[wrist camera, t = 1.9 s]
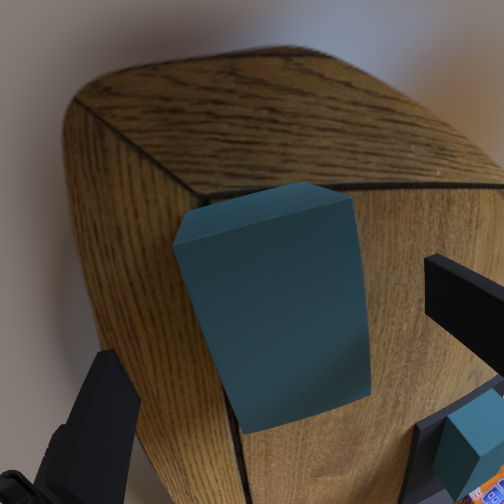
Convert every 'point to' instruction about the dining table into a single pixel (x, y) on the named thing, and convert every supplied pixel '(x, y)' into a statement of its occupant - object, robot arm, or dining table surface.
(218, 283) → the teal rectangular block
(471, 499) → the game box
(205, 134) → the dining table surface
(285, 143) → the dining table surface
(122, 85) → the dining table surface
